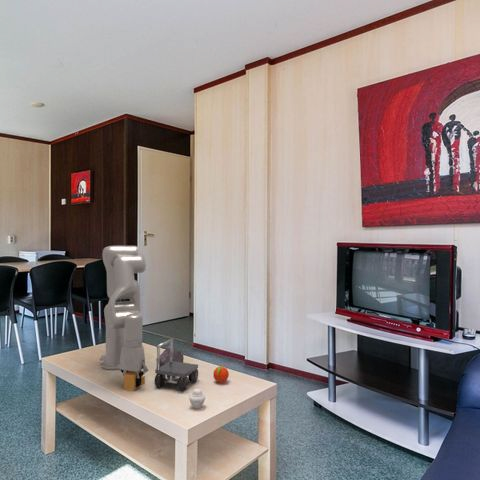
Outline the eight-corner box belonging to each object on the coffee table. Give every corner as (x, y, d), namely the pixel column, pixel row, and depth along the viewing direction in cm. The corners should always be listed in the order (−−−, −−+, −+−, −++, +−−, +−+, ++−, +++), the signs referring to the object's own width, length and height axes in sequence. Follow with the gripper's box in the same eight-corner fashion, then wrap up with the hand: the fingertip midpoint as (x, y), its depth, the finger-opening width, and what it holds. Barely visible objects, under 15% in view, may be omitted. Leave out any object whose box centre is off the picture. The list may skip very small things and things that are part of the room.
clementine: (224, 386, 167) (225, 370, 167) (210, 384, 169) (210, 368, 169) (230, 380, 175) (230, 364, 175) (216, 378, 177) (216, 363, 177)
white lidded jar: (200, 411, 143) (200, 393, 143) (186, 408, 145) (186, 390, 145) (208, 405, 149) (208, 387, 149) (193, 402, 151) (194, 384, 151)
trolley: (153, 388, 164) (153, 346, 164) (171, 375, 179) (172, 337, 179) (182, 393, 159) (183, 350, 159) (199, 380, 174) (199, 340, 174)
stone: (161, 349, 186) (185, 342, 197) (153, 347, 190) (177, 341, 201) (162, 371, 186) (186, 363, 197) (154, 368, 190) (178, 361, 201)
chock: (123, 388, 163) (124, 373, 163) (134, 382, 171) (135, 367, 171) (133, 390, 162) (134, 375, 162) (144, 383, 169) (144, 368, 169)
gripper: (110, 343, 164) (110, 385, 164) (145, 347, 158) (144, 391, 159) (121, 338, 171) (121, 379, 171) (155, 343, 165) (154, 385, 166)
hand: (132, 384), depth 165 cm, fingers closed on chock, 5 cm apart
